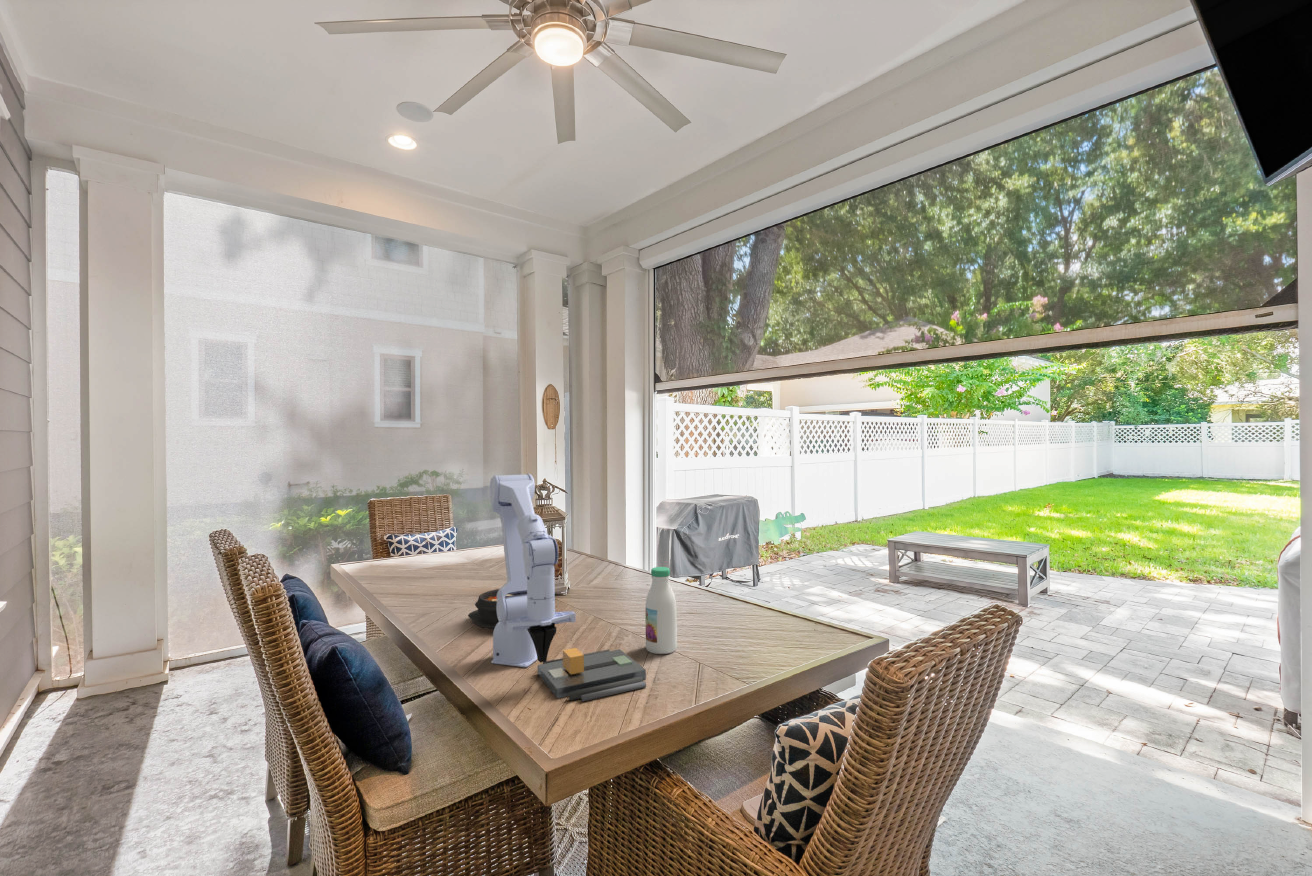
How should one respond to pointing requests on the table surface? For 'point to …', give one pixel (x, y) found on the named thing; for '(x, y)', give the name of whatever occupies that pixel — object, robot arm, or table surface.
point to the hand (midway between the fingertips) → (541, 660)
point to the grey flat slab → (590, 672)
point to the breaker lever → (573, 661)
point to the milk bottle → (661, 614)
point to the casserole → (487, 609)
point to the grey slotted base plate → (604, 686)
